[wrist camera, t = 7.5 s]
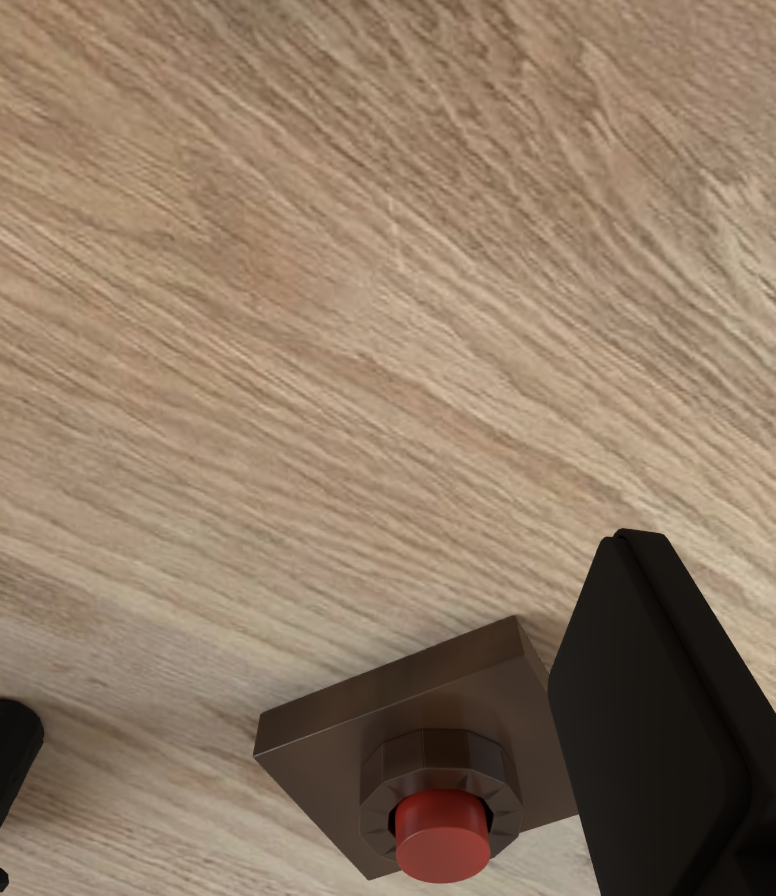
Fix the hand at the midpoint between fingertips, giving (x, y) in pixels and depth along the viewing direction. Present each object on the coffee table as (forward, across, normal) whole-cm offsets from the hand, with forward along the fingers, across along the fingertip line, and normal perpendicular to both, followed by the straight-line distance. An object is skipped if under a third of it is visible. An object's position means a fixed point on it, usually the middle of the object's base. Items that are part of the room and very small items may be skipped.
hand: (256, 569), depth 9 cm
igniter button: (+10, -7, +19) cm, 23 cm away
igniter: (+14, -7, +19) cm, 25 cm away
